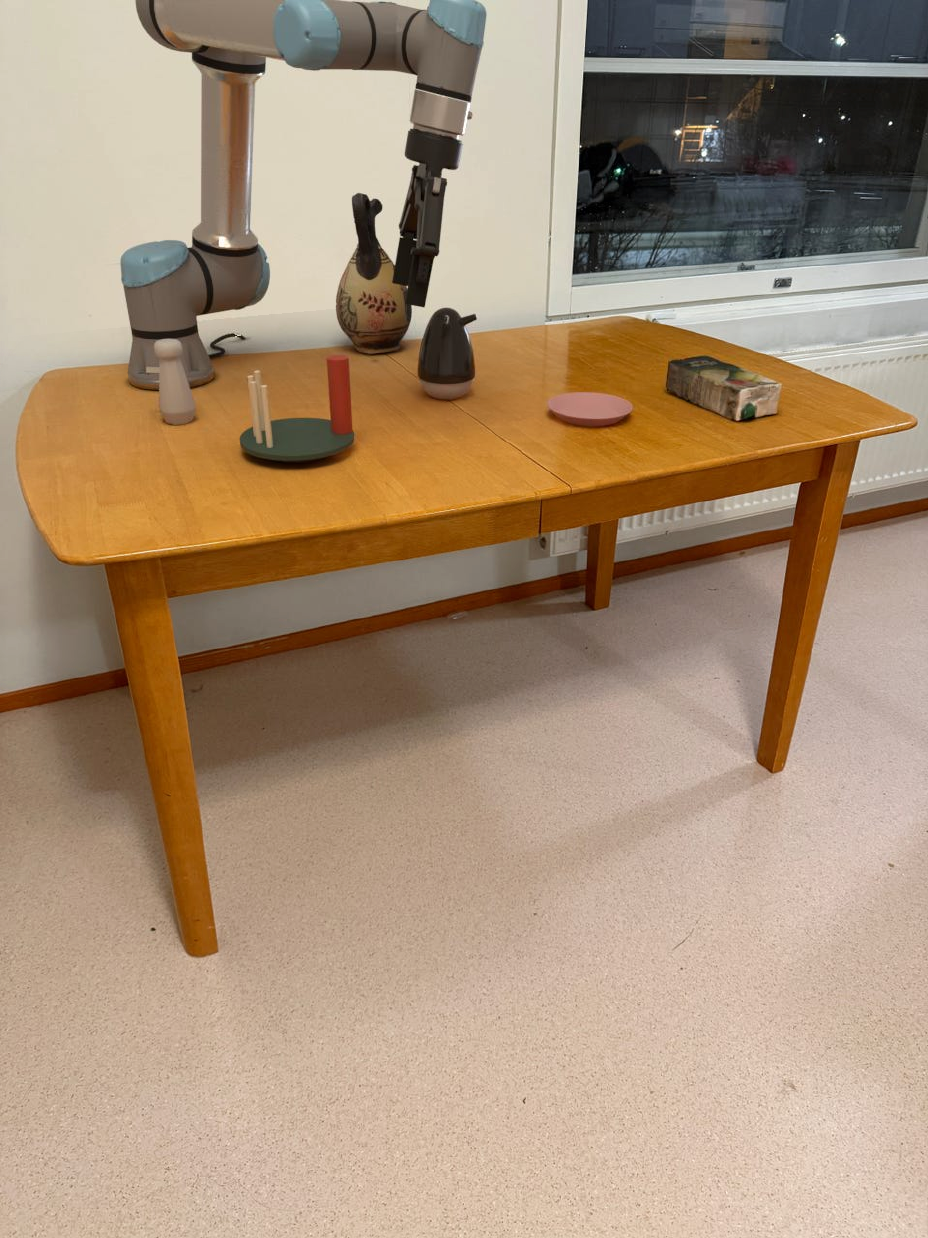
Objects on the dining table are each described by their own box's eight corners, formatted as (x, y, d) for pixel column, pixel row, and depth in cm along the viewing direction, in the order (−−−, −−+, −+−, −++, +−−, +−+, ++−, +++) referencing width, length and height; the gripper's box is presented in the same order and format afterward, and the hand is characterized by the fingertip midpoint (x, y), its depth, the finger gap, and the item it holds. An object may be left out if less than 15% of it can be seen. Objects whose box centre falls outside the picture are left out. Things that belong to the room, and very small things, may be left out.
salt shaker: (204, 417, 152) (193, 337, 145) (184, 428, 147) (172, 346, 141) (174, 413, 154) (162, 334, 147) (153, 423, 149) (140, 342, 142)
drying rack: (247, 470, 129) (237, 381, 123) (234, 432, 143) (224, 350, 137) (365, 458, 134) (361, 371, 127) (342, 422, 148) (337, 342, 141)
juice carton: (783, 415, 156) (790, 379, 153) (740, 424, 152) (745, 387, 149) (703, 386, 171) (708, 352, 168) (662, 393, 167) (665, 359, 164)
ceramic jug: (348, 338, 199) (340, 186, 184) (418, 341, 197) (416, 188, 182) (327, 358, 184) (316, 195, 169) (403, 362, 183) (399, 197, 167)
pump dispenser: (469, 406, 159) (471, 315, 151) (411, 401, 160) (409, 312, 153) (480, 389, 167) (482, 303, 160) (425, 385, 169) (424, 299, 161)
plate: (582, 398, 163) (583, 386, 162) (648, 416, 155) (649, 405, 154) (528, 415, 155) (529, 403, 154) (595, 436, 146) (596, 423, 145)
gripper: (483, 146, 114) (448, 319, 124) (446, 131, 134) (419, 281, 144) (424, 132, 111) (393, 309, 122) (396, 119, 132) (372, 272, 142)
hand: (407, 294), depth 133 cm, fingers open, 13 cm apart
